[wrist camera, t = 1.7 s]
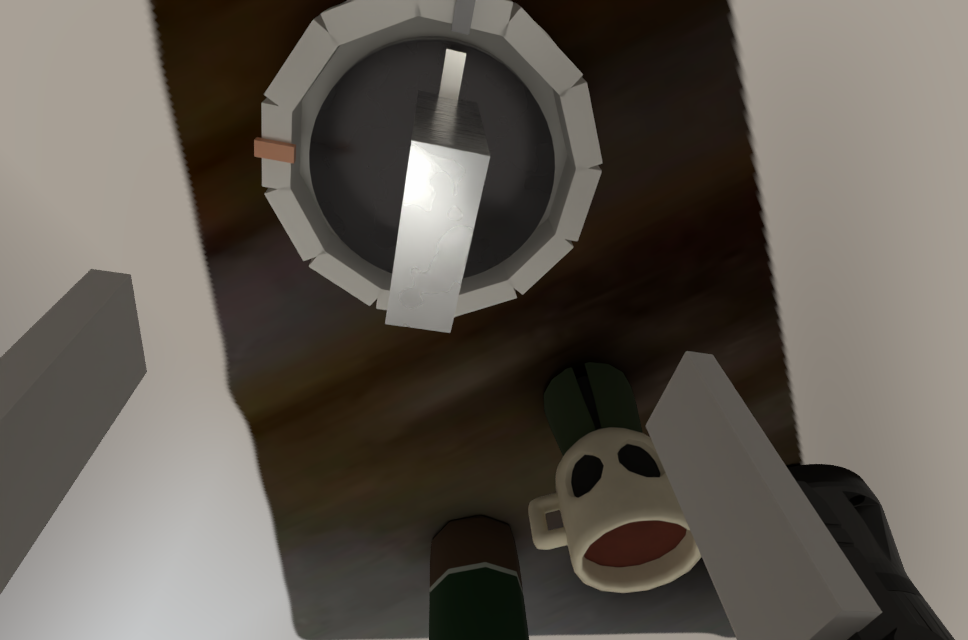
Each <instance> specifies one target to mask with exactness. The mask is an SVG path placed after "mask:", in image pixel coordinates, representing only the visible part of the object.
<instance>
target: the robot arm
mask: <svg viewBox="0 0 968 640" xmlns="http://www.w3.org/2000/svg"><path fill="white" fill-rule="evenodd" d="M146 372H147V370H146V364H145V358H144V352H143V346H142V340H141V334H140V328H139V322H138V316H137V310H136V304H135V298H134V291H133V285H132V279H131V275H130V274H123V273H115V272H109V271H101V270H94V269H91V270H90V271H89V272H88V273H87V274H86V275H85V276H84V277H83V278H82V279H81V280H80V281H78V283H76V284H75V285H74V286H73V287H72V288H71V289H70V290H69V291H68V292H67V294H65V295H64V296H63V297H62V298H61V299H60V300H59V301H58V302H57V303H56V304H55V305H54V306H53V307H52V308H51V309H50V310H49V311H48V312H47V313H46V314H45V315H44V316H43V317H42V318H41V319H40V320H39V321H37V322H36V323H35V324H34V325H33V326H32V328H30V329H29V330H28V331H27V332H26V333H25V334H24V335H23V336H22V337H21V338H20V339H19V340H18V341H17V342H16V343H15V344H14V345H13V346H12V347H11V348H10V349H9V350H8V351H7V352H6V353H5V354H4V355H3V356H2V357H1V358H0V594H1V593H2V591H3V589H4V588H5V587H6V585H7V583H8V582H9V580H10V579H11V577H12V576H13V574H14V573H15V571H16V570H17V568H18V567H19V565H20V564H21V562H22V561H23V559H24V557H25V556H26V555H27V553H28V552H29V550H30V548H31V547H32V545H33V544H34V542H35V541H36V539H37V538H38V536H39V535H40V533H41V532H42V530H43V529H44V527H45V526H46V524H47V523H48V521H49V520H50V518H51V517H52V515H53V513H54V512H55V510H56V509H57V507H58V506H59V504H60V503H61V501H62V500H63V498H64V497H65V495H66V494H67V492H68V491H69V489H70V488H71V486H72V485H73V483H74V482H75V480H76V479H77V477H78V475H79V474H80V472H81V471H82V469H83V468H84V466H85V465H86V463H87V462H88V460H89V459H90V457H91V456H92V454H93V453H94V451H95V450H96V448H97V447H98V445H99V444H100V442H101V440H102V439H103V437H104V436H105V434H106V433H107V431H108V430H109V428H110V426H111V425H112V424H113V422H114V421H115V419H116V418H117V416H118V415H119V413H120V412H121V410H122V408H123V407H124V406H125V404H126V402H127V401H128V399H129V398H130V396H131V395H132V393H133V392H134V390H135V389H136V387H137V386H138V384H139V383H140V381H141V380H142V378H143V377H144V375H145V374H146ZM646 428H647V430H648V432H649V435H650V437H651V439H652V442H653V444H654V447H655V449H656V451H657V454H658V456H659V458H660V461H661V463H662V465H663V468H664V470H665V472H666V475H667V477H668V479H669V482H670V484H671V486H672V489H673V491H674V493H675V496H676V498H677V500H678V503H679V505H680V507H681V510H682V512H683V514H684V517H685V519H686V521H687V524H688V526H689V528H690V531H691V533H692V535H693V538H694V540H695V542H696V545H697V547H698V549H699V552H700V554H701V556H702V559H703V561H704V563H705V566H706V568H707V570H708V573H709V575H710V577H711V580H712V582H713V584H714V587H715V589H716V591H717V594H718V596H719V598H720V601H721V603H722V605H723V608H724V610H725V612H726V615H727V617H728V619H729V622H730V624H731V626H732V629H733V631H734V633H735V636H736V638H737V640H955V639H954V638H953V637H952V635H951V634H950V633H949V631H948V630H947V629H946V627H945V626H944V625H943V623H942V622H941V621H940V619H939V618H938V617H937V615H936V614H935V613H934V611H933V610H932V609H931V607H930V606H929V605H928V603H927V602H926V601H925V599H924V598H923V597H922V595H921V594H920V593H919V591H918V590H917V588H916V587H915V586H914V584H913V583H912V582H911V580H910V579H909V577H908V576H907V574H906V572H905V570H904V567H903V564H902V562H901V559H900V556H899V553H898V550H897V547H896V545H895V542H894V539H893V536H892V534H891V530H890V528H889V525H888V522H887V519H886V516H885V513H884V511H883V508H882V506H881V504H880V502H879V500H878V499H877V497H876V496H875V495H874V494H873V492H872V491H871V490H870V488H869V487H868V486H867V485H866V483H865V482H864V481H863V479H862V478H861V477H860V476H858V475H857V474H856V473H854V472H852V471H850V470H848V469H846V468H842V467H838V466H834V465H825V464H809V465H799V466H793V467H788V468H787V467H786V465H785V464H784V462H783V461H782V459H781V458H780V456H779V455H778V453H777V452H776V450H775V448H774V447H773V445H772V444H771V442H770V441H769V439H768V438H767V436H766V435H765V433H764V432H763V430H762V429H761V427H760V426H759V424H758V423H757V421H756V420H755V418H754V417H753V415H752V414H751V412H750V411H749V409H748V408H747V406H746V404H745V403H744V401H743V400H742V398H741V397H740V395H739V394H738V392H737V391H736V389H735V388H734V386H733V385H732V383H731V382H730V380H729V379H728V377H727V376H726V374H725V373H724V371H723V370H722V368H721V367H720V365H719V364H718V362H717V361H716V359H715V357H714V356H713V355H712V354H705V353H697V352H690V351H686V352H685V354H684V356H683V357H682V359H681V361H680V363H679V365H678V367H677V369H676V370H675V372H674V374H673V376H672V378H671V380H670V381H669V383H668V385H667V387H666V389H665V391H664V393H663V394H662V396H661V398H660V400H659V402H658V404H657V405H656V407H655V409H654V411H653V413H652V415H651V417H650V418H649V420H648V422H647V424H646Z"/></svg>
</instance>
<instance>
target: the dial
mask: <svg viewBox="0 0 968 640" xmlns="http://www.w3.org/2000/svg"><path fill="white" fill-rule="evenodd" d="M309 169H310V175H311V181H312V186H313V190H314V193H315V196H316V199H317V202H318V204H319V206H320V208H321V211H322V213H323V215H324V216H325V218H326V220H327V221H328V223H329V225H330V226H331V228H332V229H333V230H334V232H335V233H336V234H337V235H338V237H339V238H340V239H341V240H342V241H343V242H344V243H345V244H346V245H347V246H348V247H349V248H350V249H351V250H352V251H354V252H355V253H356V254H357V255H359V256H360V257H361V258H363V259H364V260H366V261H367V262H369V263H371V264H372V265H374V266H376V267H378V268H380V269H382V270H384V271H386V272H389V273H392V279H391V286H390V293H389V300H388V307H387V314H386V321H385V324H390V325H397V326H404V327H411V328H419V329H426V330H433V331H441V332H448V333H450V332H451V327H452V323H453V319H454V314H455V310H456V305H457V301H458V297H459V292H460V288H461V283H462V279H463V278H466V277H470V276H474V275H476V274H479V273H482V272H484V271H487V270H489V269H490V268H492V267H494V266H496V265H498V264H500V263H501V262H503V261H504V260H506V259H507V258H509V257H510V256H511V255H512V254H513V253H515V252H516V251H517V250H518V249H519V248H520V247H521V246H522V245H523V244H524V243H525V242H526V241H527V240H528V239H529V237H530V236H531V235H532V233H533V232H534V230H535V229H536V228H537V226H538V225H539V223H540V221H541V219H542V217H543V215H544V213H545V211H546V208H547V206H548V203H549V200H550V197H551V193H552V188H553V184H554V174H555V154H554V147H553V141H552V136H551V133H550V130H549V127H548V124H547V121H546V119H545V116H544V114H543V112H542V110H541V108H540V106H539V104H538V103H537V101H536V100H535V98H534V96H533V95H532V93H531V92H530V90H529V89H528V87H527V86H526V84H525V83H524V82H523V81H522V80H521V78H520V77H519V76H518V75H517V74H516V73H515V72H514V71H513V70H512V69H511V68H510V67H509V66H508V65H506V64H505V63H504V62H503V61H502V60H500V59H499V58H497V57H496V56H494V55H493V54H491V53H490V52H488V51H486V50H484V49H482V48H480V47H477V46H475V45H473V44H470V43H467V42H464V41H461V40H457V39H452V38H446V37H440V36H420V37H412V38H405V39H401V40H398V41H394V42H391V43H388V44H386V45H383V46H381V47H379V48H377V49H375V50H373V51H371V52H370V53H368V54H367V55H365V56H363V57H362V58H360V59H359V60H358V61H357V62H356V63H354V64H353V65H352V66H351V67H350V68H349V69H348V70H347V71H346V72H345V73H344V74H343V75H342V77H341V78H340V79H339V80H338V81H337V83H336V84H335V85H334V87H333V88H332V89H331V91H330V92H329V94H328V96H327V97H326V99H325V101H324V102H323V104H322V106H321V108H320V110H319V113H318V115H317V117H316V120H315V123H314V127H313V131H312V135H311V140H310V149H309Z"/></svg>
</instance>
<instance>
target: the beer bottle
mask: <svg viewBox="0 0 968 640" xmlns="http://www.w3.org/2000/svg"><path fill="white" fill-rule="evenodd" d="M429 640H529V635H528V628H527V620H526V612H525V604H524V597H523V589H522V581H521V574H520V566H519V560H518V555H517V550H516V545H515V542H514V539H513V536H512V533H511V529H510V527H509V526H508V524H505V523H502V522H499V521H497V520H494V519H491V518H488V517H485V516H482V515H480V516H475V517H469V518H464V519H459V520H454V521H450V522H449V523H448V524H447V525H446V526H445V527H444V528H443V529H442V530H441V531H440V532H439V533H438V534H437V536H436V537H435V538H434V539H433V541H432V544H431V557H430V612H429Z"/></svg>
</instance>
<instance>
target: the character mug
mask: <svg viewBox="0 0 968 640" xmlns="http://www.w3.org/2000/svg"><path fill="white" fill-rule="evenodd" d="M585 367H586V371H587V374H588V376H587V377H580V378H578V379H577V380H576V377H575V374H574V372H573V369H572V367H571V368H567V369H565V370H564V371H563V372H561V373H560V374H559V375H557V376H556V377H555V378H553V379H552V380H551V382H550V384H549V386H548V387H547V389H546V391H545V393H544V411H545V414H546V417H547V419H548V422H549V425H550V427H551V430H552V432H553V434H554V437H555V439H556V441H557V443H558V446H559V448H560V450H561V452H562V455H563V458H562V460H561V461H560V463H559V465H558V467H557V471H556V493H554V494H550V495H546V496H542V497H538V498H535V499H534V500H532V501H530V504H529V509H528V513H529V519H530V525H531V532H532V538H533V542H534V544H535V546H536V548H537V549H544V550H549V549H553V548H557V547H561V546H565V545H568V548H569V553H570V558H571V562H572V566H573V569H574V572H575V573H576V574H577V576H578V577H579V578H580V579H581V580H582V582H583V583H584V584H586V585H589V586H591V587H594V588H596V589H598V590H601V591H608V592H618V593H629V592H637V591H645V590H650V589H653V588H656V587H659V586H662V585H664V584H667V583H670V582H672V581H674V580H675V579H677V578H679V577H680V576H682V575H683V574H685V573H687V572H688V571H690V570H691V569H692V568H693V566H694V565H695V564H696V563H697V562H698V561H699V560H700V558H701V557H702V556H701V554H700V552H699V549H698V547H697V545H696V542H695V540H694V538H693V535H692V533H691V531H690V528H689V526H688V524H687V521H686V519H685V517H684V514H683V512H682V510H681V507H680V505H679V503H678V500H677V498H676V496H675V493H674V491H673V489H672V486H671V484H670V482H669V479H668V477H667V475H666V472H665V470H664V468H663V465H662V463H661V461H660V458H659V456H658V454H657V451H656V449H655V447H654V444H653V442H652V439H651V438H650V437H648V436H647V435H645V434H643V433H642V428H641V424H640V419H639V415H638V410H637V405H636V402H635V398H634V395H633V391H632V388H631V386H630V384H629V382H628V380H627V379H626V377H625V375H624V373H623V372H622V371H620V370H618V369H616V368H614V367H613V366H611V365H609V364H604V363H594V362H588V363H585ZM556 510H560V511H561V515H562V520H563V525H564V527H562V528H558V529H554V530H550V531H548V527H547V522H546V517H545V513H548V512H552V511H556Z"/></svg>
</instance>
